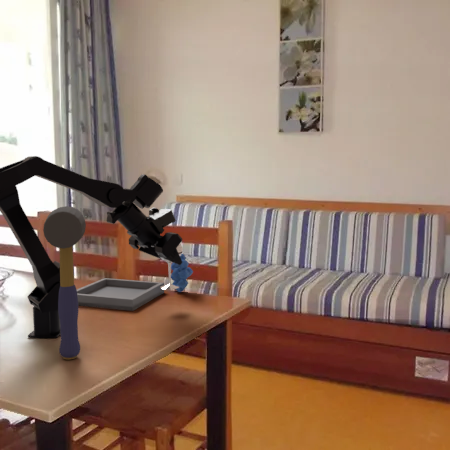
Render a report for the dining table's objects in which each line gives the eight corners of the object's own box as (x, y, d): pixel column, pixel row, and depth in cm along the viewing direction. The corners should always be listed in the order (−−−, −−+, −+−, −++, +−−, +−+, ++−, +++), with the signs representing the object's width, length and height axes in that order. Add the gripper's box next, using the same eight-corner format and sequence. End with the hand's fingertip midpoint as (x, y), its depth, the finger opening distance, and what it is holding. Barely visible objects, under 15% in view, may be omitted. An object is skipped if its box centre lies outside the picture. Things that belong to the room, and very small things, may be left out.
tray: (132, 310, 133) (132, 299, 132) (66, 304, 139) (66, 293, 138) (164, 292, 152) (164, 282, 151) (104, 287, 158) (104, 278, 157)
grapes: (200, 295, 149) (200, 254, 147) (178, 297, 146) (177, 256, 145) (186, 286, 159) (186, 248, 158) (166, 288, 157) (165, 250, 155)
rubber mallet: (53, 348, 106) (48, 204, 102) (90, 345, 107) (86, 204, 104) (46, 372, 94) (39, 210, 90) (88, 368, 95) (83, 209, 92)
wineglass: (171, 282, 138) (171, 239, 136) (188, 287, 133) (188, 241, 132) (151, 287, 133) (151, 241, 132) (168, 291, 128) (167, 244, 127)
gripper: (175, 200, 121) (212, 242, 128) (138, 196, 135) (174, 234, 143) (145, 235, 117) (186, 277, 125) (111, 227, 132) (149, 265, 139)
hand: (174, 261), depth 133 cm, fingers closed on wineglass, 6 cm apart
